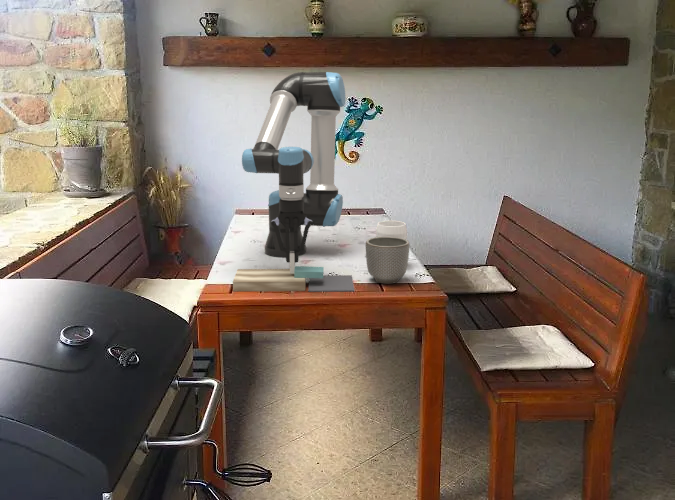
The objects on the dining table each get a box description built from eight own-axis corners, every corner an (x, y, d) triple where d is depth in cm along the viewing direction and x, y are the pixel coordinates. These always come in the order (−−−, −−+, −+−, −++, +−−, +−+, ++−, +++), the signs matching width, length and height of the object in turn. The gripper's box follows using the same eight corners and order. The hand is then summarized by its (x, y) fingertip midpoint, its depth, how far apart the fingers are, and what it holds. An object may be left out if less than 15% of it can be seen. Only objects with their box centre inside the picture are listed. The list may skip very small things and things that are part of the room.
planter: (373, 272, 238) (374, 234, 235) (413, 277, 233) (415, 238, 230) (358, 284, 226) (359, 244, 223) (400, 289, 221) (401, 248, 217)
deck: (237, 278, 232) (237, 269, 231) (305, 277, 233) (305, 268, 232) (233, 291, 218) (232, 281, 218) (305, 290, 219) (305, 281, 218)
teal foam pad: (294, 277, 222) (294, 271, 221) (295, 272, 228) (295, 266, 227) (323, 278, 222) (323, 272, 221) (323, 272, 228) (323, 266, 227)
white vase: (404, 271, 240) (406, 227, 236) (373, 269, 242) (374, 226, 238) (407, 262, 250) (408, 220, 246) (377, 261, 252) (377, 219, 248)
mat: (308, 276, 234) (308, 275, 233) (351, 276, 234) (351, 275, 234) (308, 291, 218) (308, 290, 218) (354, 291, 218) (354, 290, 218)
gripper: (269, 200, 215) (270, 275, 221) (312, 200, 215) (313, 275, 221) (270, 196, 222) (272, 269, 228) (312, 195, 223) (313, 268, 228)
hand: (292, 272), depth 225 cm, fingers closed
